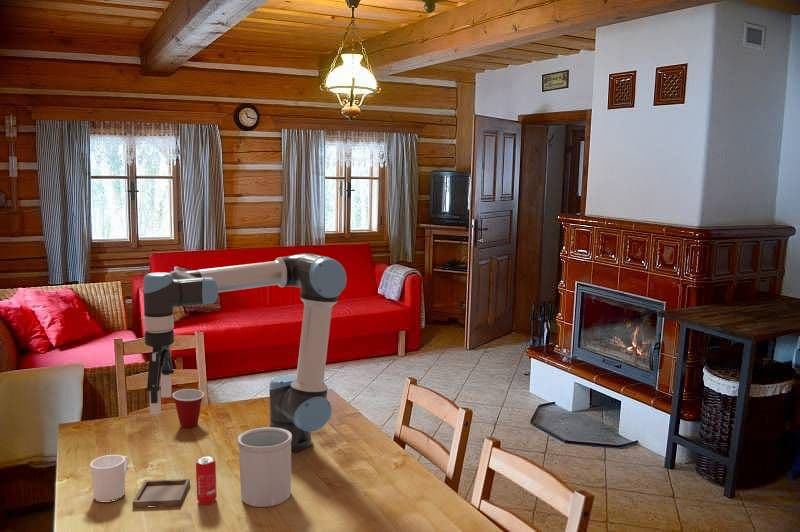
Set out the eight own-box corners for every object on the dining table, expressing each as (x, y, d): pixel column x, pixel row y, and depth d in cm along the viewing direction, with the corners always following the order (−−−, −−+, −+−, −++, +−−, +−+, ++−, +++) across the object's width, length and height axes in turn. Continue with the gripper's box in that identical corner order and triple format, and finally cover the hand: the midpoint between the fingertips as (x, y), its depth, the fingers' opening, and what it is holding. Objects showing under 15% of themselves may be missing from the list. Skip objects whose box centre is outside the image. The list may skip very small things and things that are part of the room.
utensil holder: (246, 482, 200) (245, 425, 197) (297, 483, 199) (296, 426, 197) (233, 507, 185) (231, 446, 183) (287, 509, 185) (286, 447, 182)
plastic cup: (195, 433, 236) (194, 399, 234) (167, 429, 238) (166, 397, 237) (211, 421, 246) (210, 389, 244) (184, 418, 249) (183, 387, 247)
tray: (190, 484, 198) (189, 478, 198) (180, 506, 186) (180, 500, 186) (145, 486, 197) (145, 480, 197) (132, 508, 185) (132, 501, 184)
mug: (105, 507, 185) (103, 471, 184) (85, 498, 190) (83, 463, 188) (139, 490, 194) (137, 456, 193) (120, 483, 199) (118, 449, 197)
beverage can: (199, 507, 185) (197, 465, 184) (195, 499, 190) (194, 458, 188) (218, 503, 188) (217, 462, 186) (214, 495, 192) (213, 454, 190)
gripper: (155, 319, 196) (157, 390, 199) (132, 341, 172) (135, 422, 175) (182, 319, 197) (183, 390, 200) (163, 341, 173) (165, 421, 176)
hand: (161, 405), depth 188 cm, fingers open, 13 cm apart
